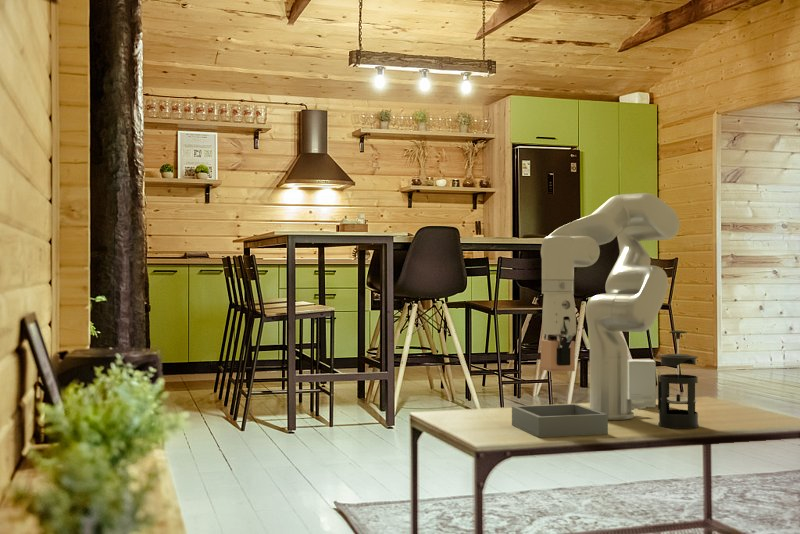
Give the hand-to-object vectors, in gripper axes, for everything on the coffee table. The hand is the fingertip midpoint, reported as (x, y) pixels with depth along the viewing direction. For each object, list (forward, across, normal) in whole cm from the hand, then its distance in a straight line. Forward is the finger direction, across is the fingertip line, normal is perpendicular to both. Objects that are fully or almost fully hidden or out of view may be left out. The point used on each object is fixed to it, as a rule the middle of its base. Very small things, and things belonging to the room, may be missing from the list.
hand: (557, 363), depth 210 cm
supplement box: (+15, +30, -38) cm, 51 cm away
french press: (+16, -2, -30) cm, 34 cm away
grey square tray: (+16, 0, 0) cm, 16 cm away
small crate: (+2, 0, 0) cm, 2 cm away
